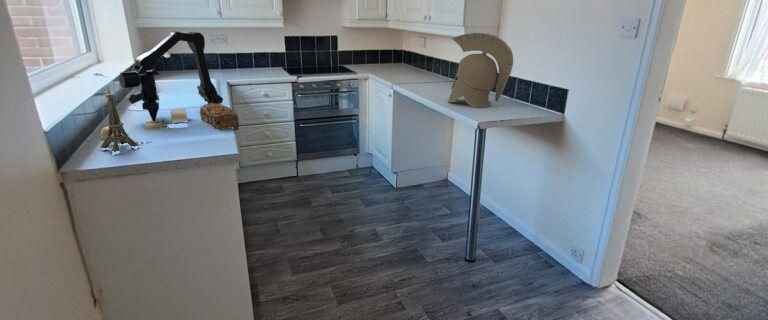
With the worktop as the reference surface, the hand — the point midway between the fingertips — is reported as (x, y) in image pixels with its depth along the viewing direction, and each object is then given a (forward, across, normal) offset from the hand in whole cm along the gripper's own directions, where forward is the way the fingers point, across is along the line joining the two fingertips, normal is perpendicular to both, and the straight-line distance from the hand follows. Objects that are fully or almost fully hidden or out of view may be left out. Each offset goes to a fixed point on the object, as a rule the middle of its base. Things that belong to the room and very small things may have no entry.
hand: (153, 120), depth 195 cm
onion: (+2, +20, -14) cm, 25 cm away
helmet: (+2, +14, +168) cm, 168 cm away
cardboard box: (+2, +11, +5) cm, 13 cm away
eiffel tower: (+2, +33, -11) cm, 35 cm away
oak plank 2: (-1, +2, +10) cm, 11 cm away
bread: (+2, +14, +26) cm, 30 cm away
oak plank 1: (+2, +2, 0) cm, 3 cm away
